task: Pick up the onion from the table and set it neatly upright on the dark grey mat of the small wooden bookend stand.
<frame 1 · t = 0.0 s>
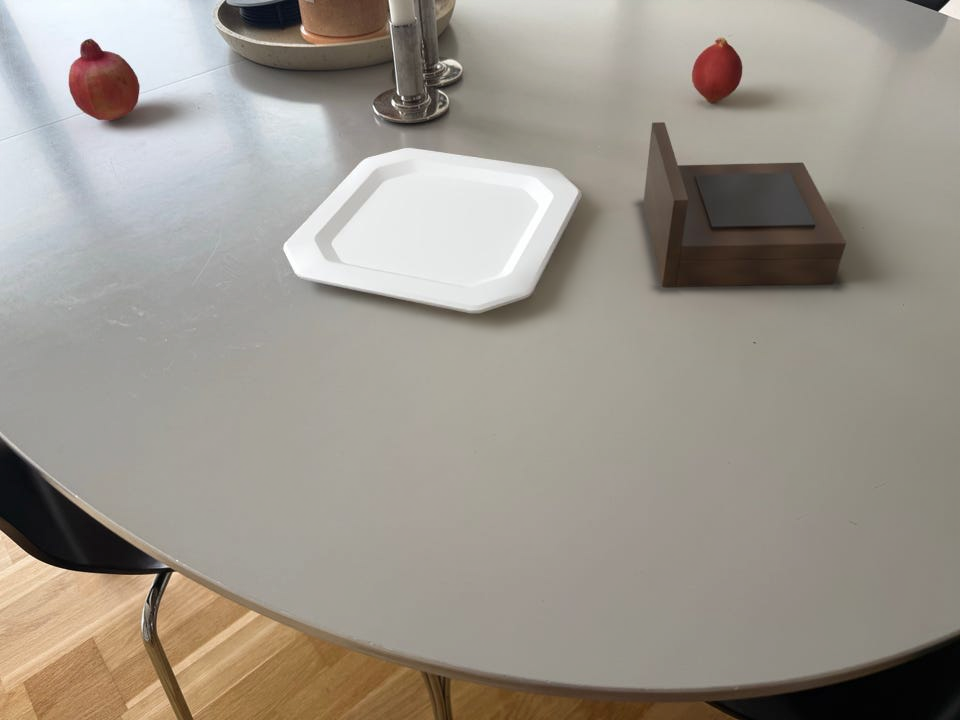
wooden bookend stand: (738, 241, 78), on the table
plate: (438, 237, 81), on the table
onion: (712, 103, 100), on the table
fruit: (116, 119, 104), on the table
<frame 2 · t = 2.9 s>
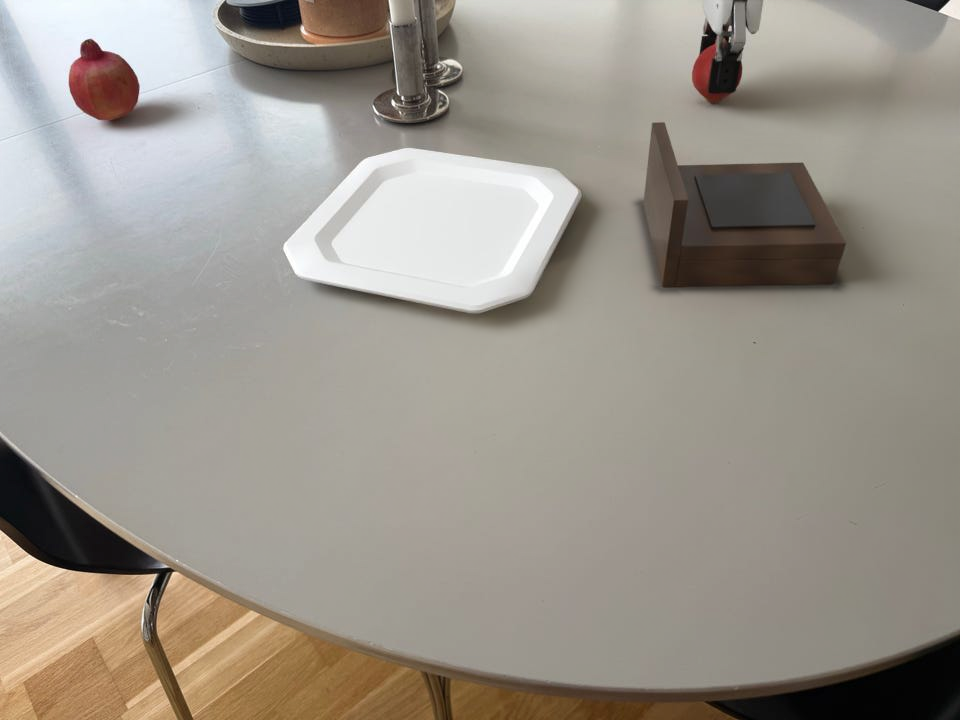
hand: (716, 78, 98), 3 cm above the table, tool pointing down, fingers closed on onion, 5 cm apart
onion: (712, 103, 100), on the table, touching gripper
everything else where it was.
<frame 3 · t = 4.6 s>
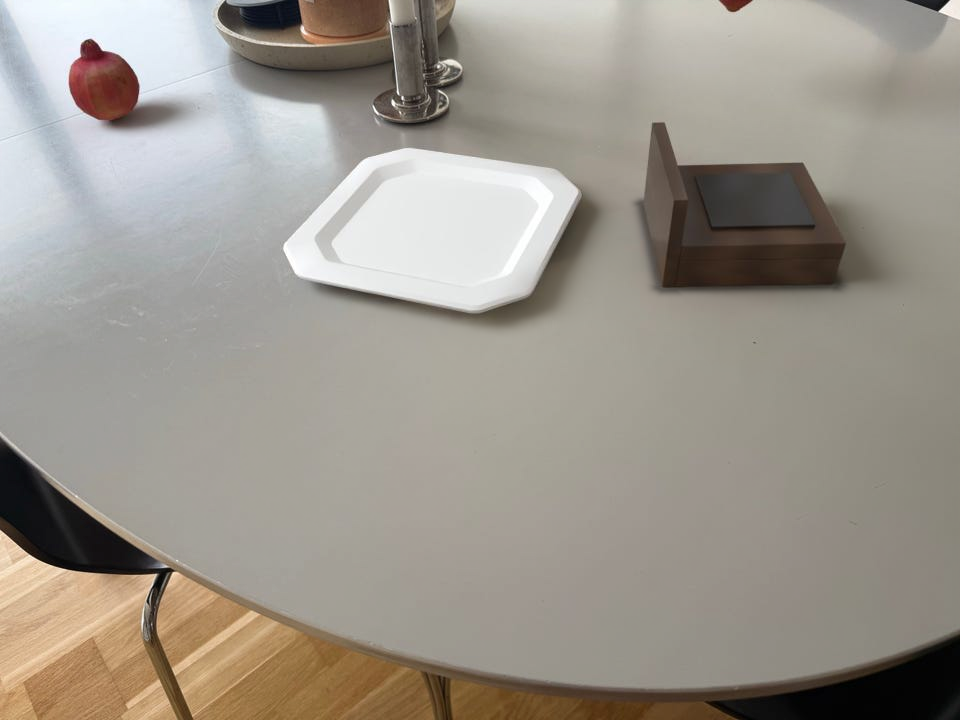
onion: (732, 13, 93), point 11 cm above the table, touching gripper
everything else where it was.
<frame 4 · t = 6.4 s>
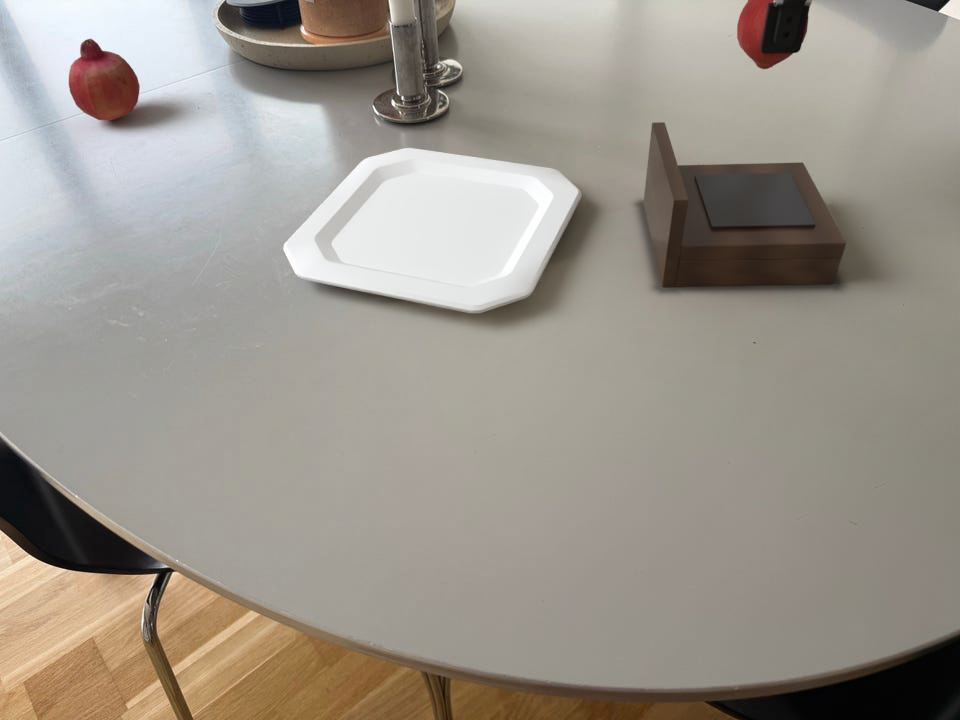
hand: (771, 34, 71), 17 cm above the table, tool pointing down, fingers closed on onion, 5 cm apart
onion: (763, 70, 73), point 14 cm above the table, touching gripper
everything else where it was.
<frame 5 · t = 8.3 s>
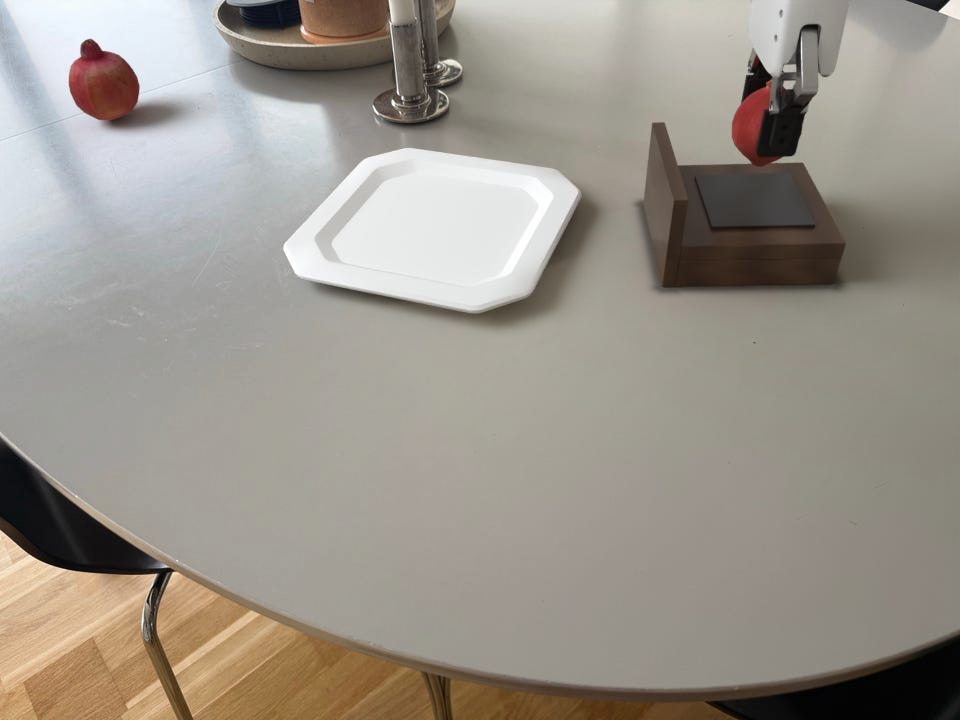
hand: (765, 134, 71), 11 cm above the table, tool pointing down, fingers closed on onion, 5 cm apart
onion: (758, 167, 73), point 8 cm above the table, touching gripper
everything else where it was.
when the fingers open (8 cm above the table, at t = 9.7 s): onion stays where it is, resting on wooden bookend stand.
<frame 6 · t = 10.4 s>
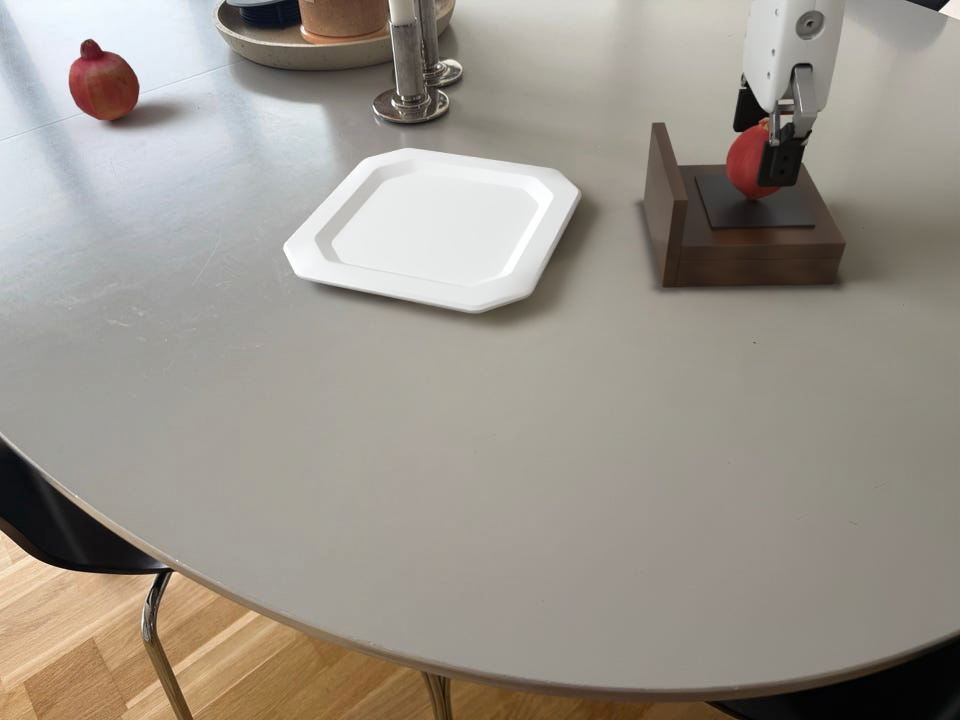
hand: (762, 156, 72), 9 cm above the table, tool pointing down, fingers open, 9 cm apart
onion: (752, 200, 75), point 4 cm above the table, touching wooden bookend stand
everything else where it was.
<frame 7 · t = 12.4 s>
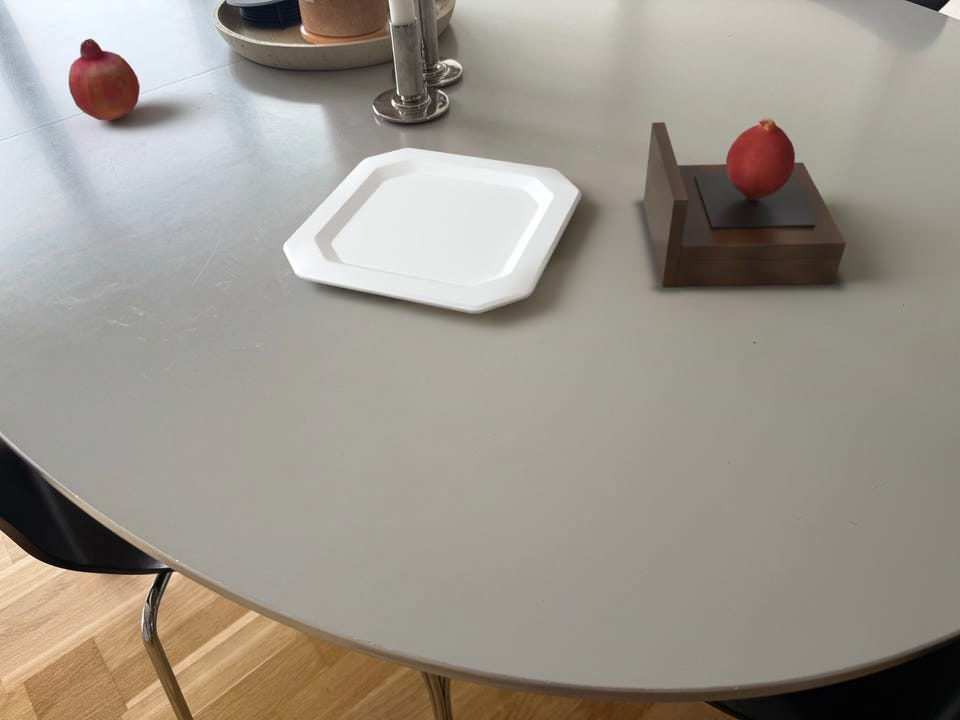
nothing on the table moved.
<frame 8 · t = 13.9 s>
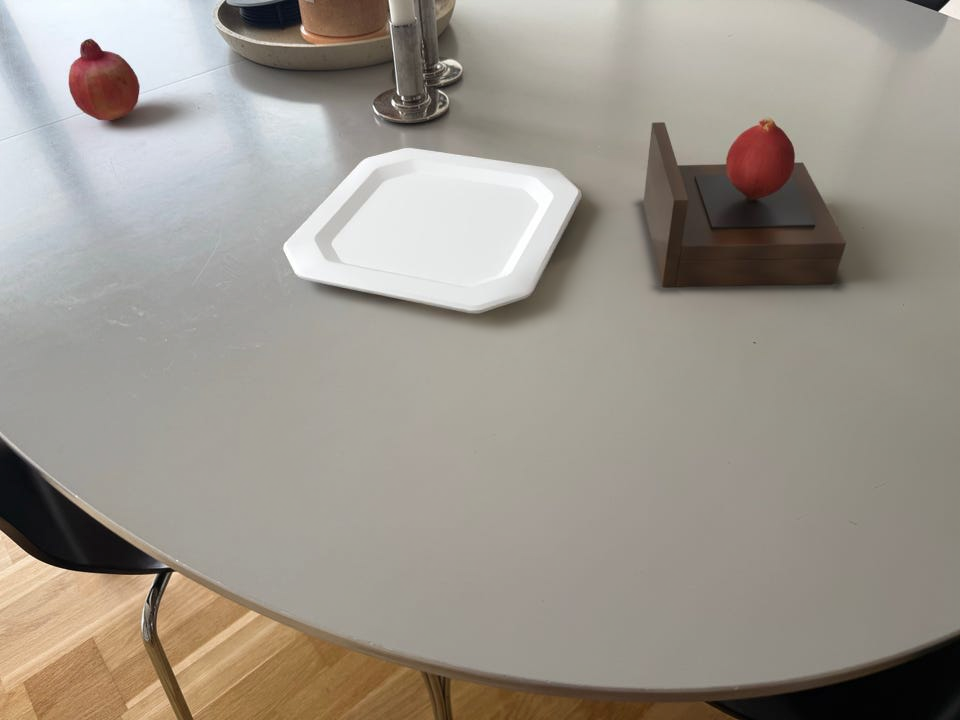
nothing on the table moved.
at the end: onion inside the target area on the wooden bookend stand (0.2 cm from its centre), point 4.5 cm above the wooden bookend stand's base; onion tilted 0°; the gripper is holding nothing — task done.
